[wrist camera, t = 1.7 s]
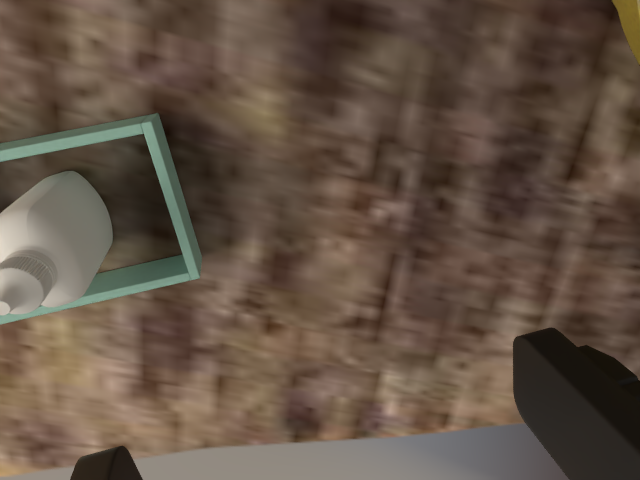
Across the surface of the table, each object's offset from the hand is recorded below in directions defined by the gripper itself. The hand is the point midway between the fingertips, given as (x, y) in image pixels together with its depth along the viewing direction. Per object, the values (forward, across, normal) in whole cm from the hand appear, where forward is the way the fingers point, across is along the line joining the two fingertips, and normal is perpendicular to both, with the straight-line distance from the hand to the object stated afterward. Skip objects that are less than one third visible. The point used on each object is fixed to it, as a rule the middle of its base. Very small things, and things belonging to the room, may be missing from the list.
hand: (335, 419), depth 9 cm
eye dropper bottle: (+24, -12, -1) cm, 27 cm away
